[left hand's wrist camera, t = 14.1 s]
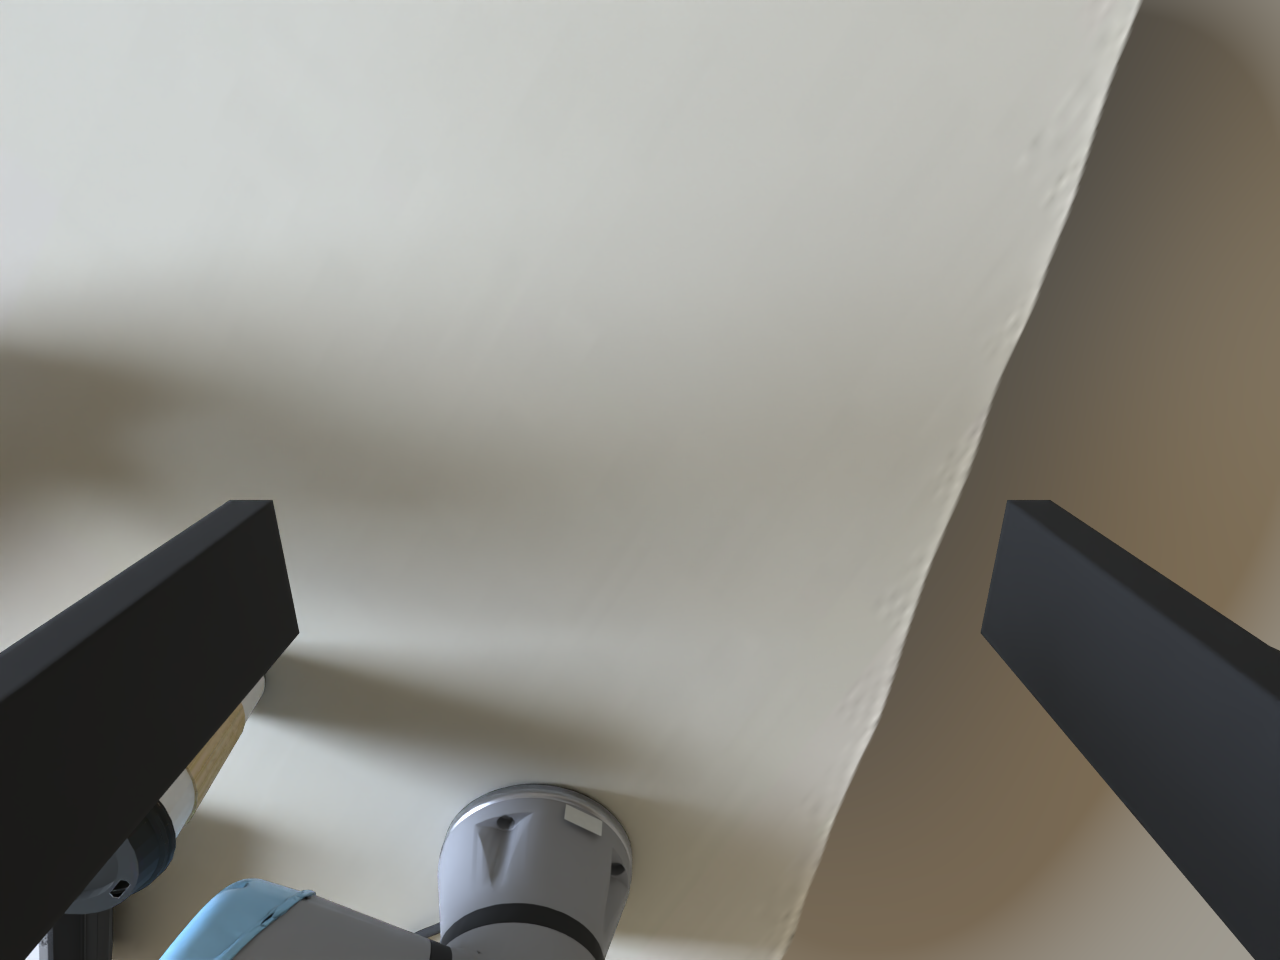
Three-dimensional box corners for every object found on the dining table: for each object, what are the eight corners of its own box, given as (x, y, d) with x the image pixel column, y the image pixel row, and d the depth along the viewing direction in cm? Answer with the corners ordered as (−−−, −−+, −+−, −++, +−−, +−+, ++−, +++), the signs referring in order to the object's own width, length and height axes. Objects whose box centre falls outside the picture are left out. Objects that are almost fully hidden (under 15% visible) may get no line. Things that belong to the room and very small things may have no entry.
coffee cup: (192, 591, 47) (1, 748, 33) (316, 670, 49) (186, 848, 35) (127, 682, 50) (-77, 862, 35) (247, 753, 52) (100, 949, 38)
